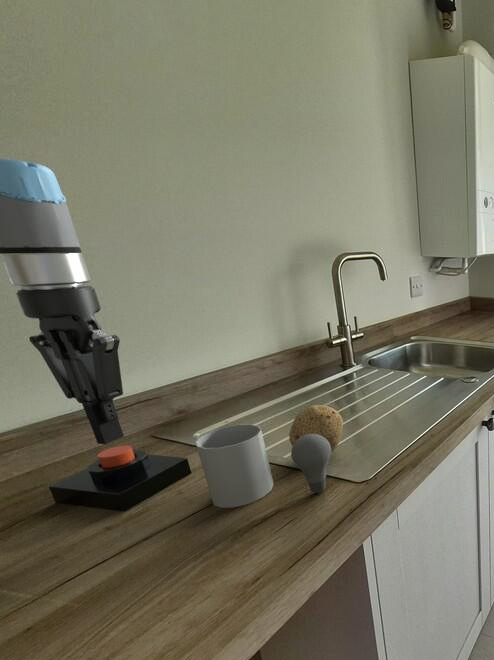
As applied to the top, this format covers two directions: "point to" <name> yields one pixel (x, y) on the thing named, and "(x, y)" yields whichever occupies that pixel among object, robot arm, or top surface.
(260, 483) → the cup
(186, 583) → the top surface
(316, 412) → the natural sponge
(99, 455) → the button
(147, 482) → the black button base
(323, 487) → the light bulb
